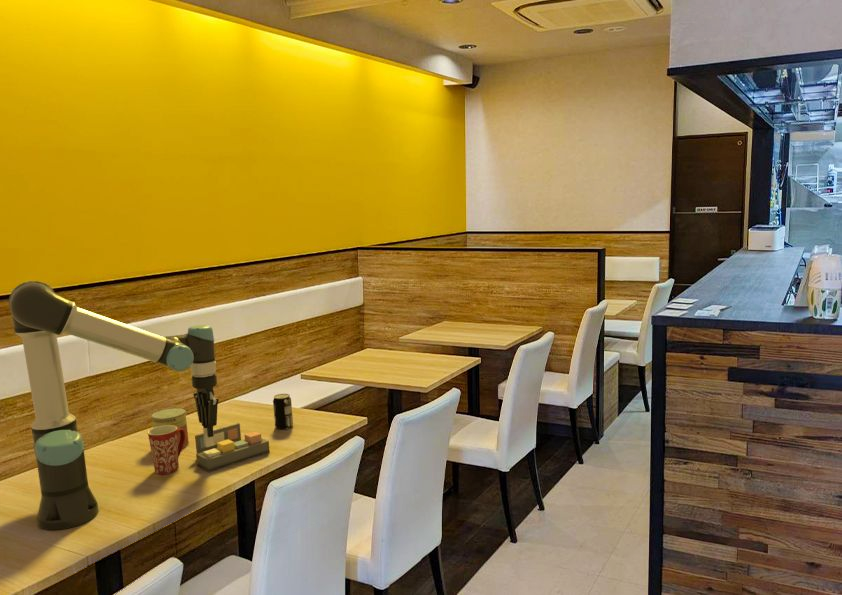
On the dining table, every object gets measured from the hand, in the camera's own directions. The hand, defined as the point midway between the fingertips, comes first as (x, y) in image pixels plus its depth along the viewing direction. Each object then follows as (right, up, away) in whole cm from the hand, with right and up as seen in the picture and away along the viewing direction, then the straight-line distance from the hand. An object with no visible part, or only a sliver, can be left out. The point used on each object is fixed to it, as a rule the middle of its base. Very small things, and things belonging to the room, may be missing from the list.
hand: (209, 445), depth 229 cm
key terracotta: (+12, -2, +11) cm, 16 cm away
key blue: (+8, -4, +8) cm, 12 cm away
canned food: (-20, -5, +22) cm, 30 cm away
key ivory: (+1, -5, +1) cm, 6 cm away
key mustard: (+4, -3, +4) cm, 7 cm away
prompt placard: (0, -5, +14) cm, 14 cm away
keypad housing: (+6, -6, +6) cm, 11 cm away
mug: (-13, -8, +1) cm, 15 cm away
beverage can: (+17, -1, +36) cm, 40 cm away
